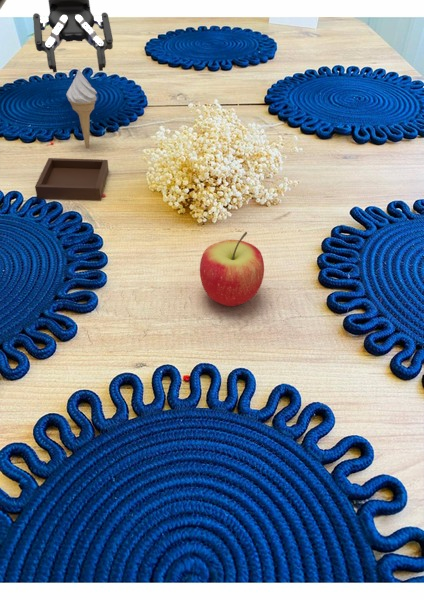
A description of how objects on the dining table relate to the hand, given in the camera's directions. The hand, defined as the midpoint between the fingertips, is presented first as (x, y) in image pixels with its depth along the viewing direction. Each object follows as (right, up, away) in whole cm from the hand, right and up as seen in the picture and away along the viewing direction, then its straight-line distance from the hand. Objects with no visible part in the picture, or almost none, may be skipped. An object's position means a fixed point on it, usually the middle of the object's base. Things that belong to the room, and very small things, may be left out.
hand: (78, 69), depth 100 cm
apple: (+28, -43, -28) cm, 59 cm away
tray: (+1, -23, -7) cm, 24 cm away
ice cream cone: (+1, -13, +5) cm, 14 cm away
